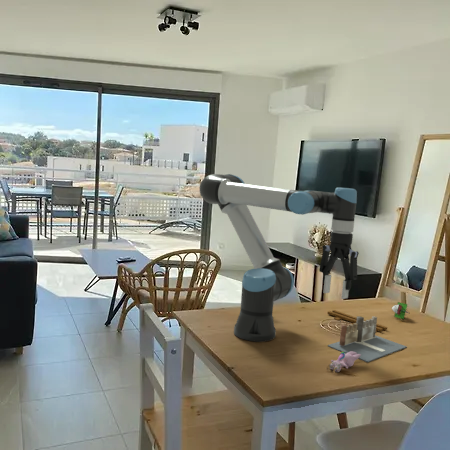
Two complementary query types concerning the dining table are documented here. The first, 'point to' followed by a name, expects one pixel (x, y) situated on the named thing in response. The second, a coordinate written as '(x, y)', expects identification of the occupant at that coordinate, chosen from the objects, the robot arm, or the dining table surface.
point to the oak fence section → (348, 334)
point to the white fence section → (366, 328)
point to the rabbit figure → (343, 361)
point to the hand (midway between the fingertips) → (335, 295)
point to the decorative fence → (352, 319)
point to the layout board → (370, 348)
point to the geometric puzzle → (400, 310)
